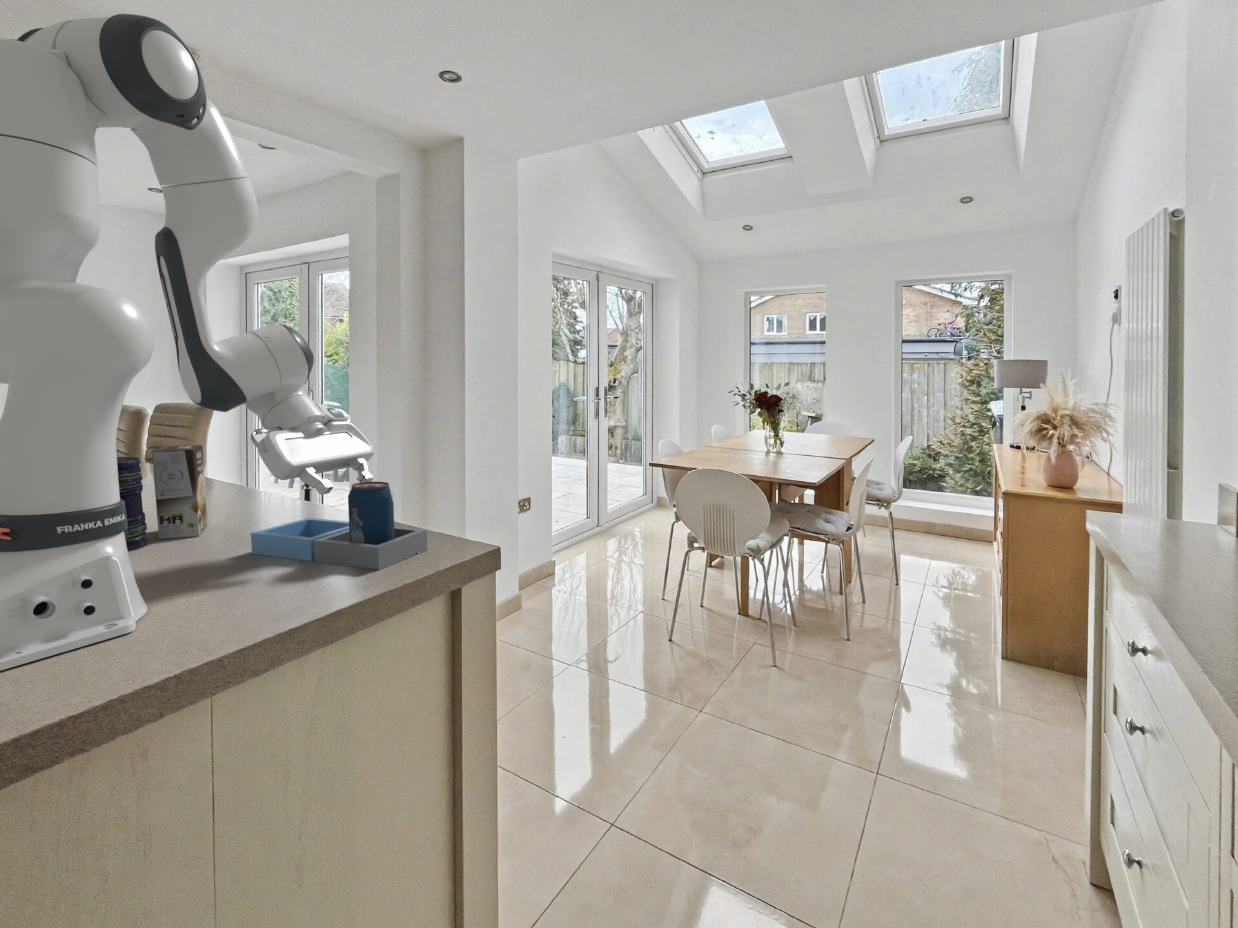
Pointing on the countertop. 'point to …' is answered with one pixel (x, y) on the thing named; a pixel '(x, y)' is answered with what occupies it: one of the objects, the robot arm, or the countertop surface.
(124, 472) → the storage jar
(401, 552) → the frame
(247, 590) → the countertop surface
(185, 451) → the coffee box
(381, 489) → the soda can
